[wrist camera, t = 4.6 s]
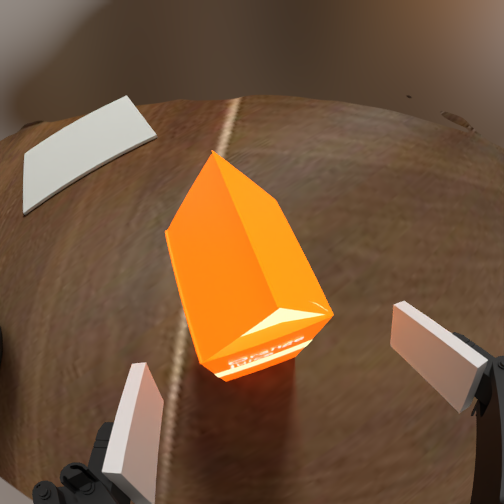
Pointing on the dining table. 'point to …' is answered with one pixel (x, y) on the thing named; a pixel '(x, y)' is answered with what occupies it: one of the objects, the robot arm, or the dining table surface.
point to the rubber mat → (82, 149)
